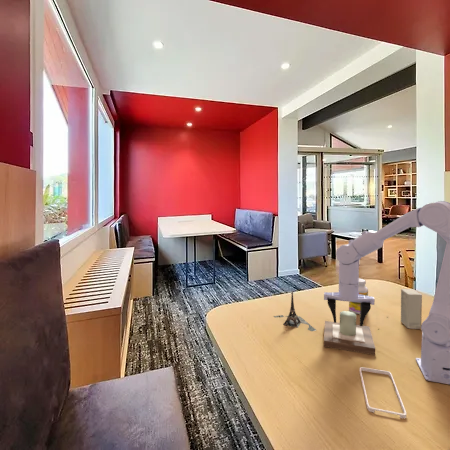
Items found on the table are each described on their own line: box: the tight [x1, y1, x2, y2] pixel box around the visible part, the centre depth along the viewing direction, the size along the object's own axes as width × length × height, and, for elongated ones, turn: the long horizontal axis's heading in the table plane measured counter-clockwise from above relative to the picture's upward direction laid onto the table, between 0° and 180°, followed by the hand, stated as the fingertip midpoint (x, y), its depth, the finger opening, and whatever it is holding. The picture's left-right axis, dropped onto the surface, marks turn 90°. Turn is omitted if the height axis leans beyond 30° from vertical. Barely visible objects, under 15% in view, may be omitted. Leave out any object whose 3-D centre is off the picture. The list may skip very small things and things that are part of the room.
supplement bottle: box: [348, 277, 369, 315], centre depth 108 cm, size 7×7×13 cm
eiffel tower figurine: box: [273, 291, 317, 332], centre depth 100 cm, size 15×10×13 cm
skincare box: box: [400, 288, 423, 330], centre depth 96 cm, size 6×4×12 cm
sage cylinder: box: [339, 310, 357, 336], centre depth 88 cm, size 5×5×6 cm
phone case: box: [359, 366, 407, 420], centre depth 65 cm, size 7×1×15 cm
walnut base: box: [323, 320, 376, 356], centre depth 89 cm, size 14×14×2 cm
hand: (347, 323), depth 88 cm, fingers open, 7 cm apart
